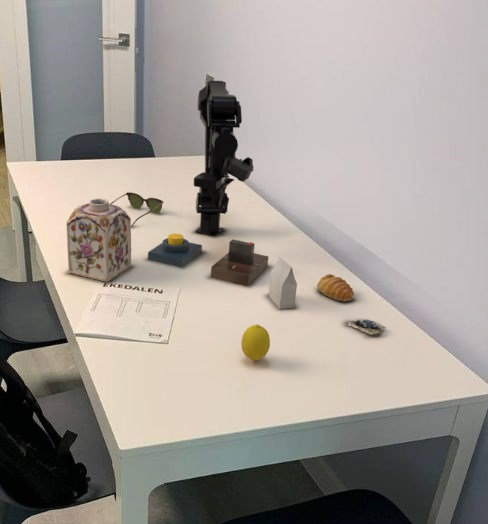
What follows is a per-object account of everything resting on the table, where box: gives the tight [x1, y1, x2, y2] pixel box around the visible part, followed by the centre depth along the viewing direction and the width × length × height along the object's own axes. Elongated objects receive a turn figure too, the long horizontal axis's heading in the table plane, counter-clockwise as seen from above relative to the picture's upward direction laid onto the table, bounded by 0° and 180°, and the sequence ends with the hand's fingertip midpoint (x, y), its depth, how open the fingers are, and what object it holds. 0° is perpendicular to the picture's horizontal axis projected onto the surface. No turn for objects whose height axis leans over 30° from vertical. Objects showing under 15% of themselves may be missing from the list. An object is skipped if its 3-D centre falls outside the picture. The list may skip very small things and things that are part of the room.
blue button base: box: [147, 237, 203, 268], centre depth 178 cm, size 12×10×4 cm
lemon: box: [240, 324, 271, 362], centre depth 131 cm, size 6×6×8 cm
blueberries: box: [347, 319, 387, 335], centre depth 146 cm, size 7×8×2 cm
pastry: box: [316, 273, 355, 302], centre depth 161 cm, size 9×7×4 cm
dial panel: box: [210, 252, 269, 287], centre depth 170 cm, size 14×10×3 cm
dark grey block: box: [228, 238, 255, 265], centre depth 169 cm, size 6×2×5 cm, turn 65°
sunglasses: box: [109, 191, 164, 228], centre depth 205 cm, size 14×15×5 cm
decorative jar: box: [66, 198, 132, 283], centre depth 165 cm, size 12×12×18 cm
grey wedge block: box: [268, 256, 298, 310], centre depth 155 cm, size 4×7×10 cm, turn 16°
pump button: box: [167, 233, 184, 245], centre depth 177 cm, size 4×4×2 cm
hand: (217, 206), depth 177 cm, fingers closed
